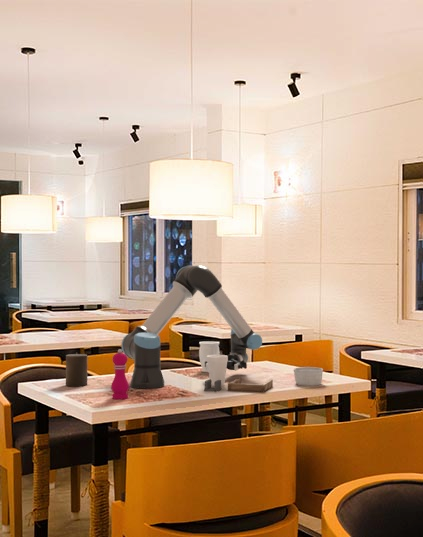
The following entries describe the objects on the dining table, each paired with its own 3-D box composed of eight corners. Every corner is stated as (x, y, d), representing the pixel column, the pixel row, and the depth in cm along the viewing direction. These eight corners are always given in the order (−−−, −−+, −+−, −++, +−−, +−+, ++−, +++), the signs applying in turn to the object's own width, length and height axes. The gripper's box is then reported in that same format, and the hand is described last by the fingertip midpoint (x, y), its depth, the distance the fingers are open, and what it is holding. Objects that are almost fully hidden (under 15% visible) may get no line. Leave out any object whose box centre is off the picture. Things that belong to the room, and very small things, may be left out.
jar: (196, 370, 388) (196, 341, 388) (216, 369, 391) (215, 340, 391) (202, 373, 378) (202, 343, 378) (222, 372, 381) (222, 342, 381)
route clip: (217, 391, 322) (217, 381, 322) (204, 390, 324) (204, 381, 324) (221, 389, 328) (221, 379, 328) (208, 388, 330) (208, 379, 330)
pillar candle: (79, 387, 335) (79, 353, 335) (61, 386, 339) (61, 352, 339) (91, 384, 344) (91, 351, 344) (73, 383, 348) (74, 350, 348)
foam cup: (228, 383, 344) (228, 354, 344) (227, 386, 335) (226, 357, 335) (208, 383, 345) (207, 354, 345) (205, 386, 336) (205, 357, 336)
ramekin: (313, 387, 332) (313, 371, 332) (288, 384, 340) (288, 369, 340) (328, 383, 342) (328, 368, 342) (303, 381, 350) (303, 366, 350)
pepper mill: (129, 396, 310) (129, 348, 310) (128, 399, 303) (128, 349, 303) (112, 396, 310) (111, 348, 310) (110, 399, 303) (110, 350, 303)
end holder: (264, 392, 319) (264, 385, 319) (227, 390, 324) (227, 383, 324) (272, 386, 334) (272, 379, 334) (237, 385, 339) (237, 378, 339)
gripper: (258, 370, 360) (247, 376, 339) (208, 368, 367) (194, 374, 347) (258, 354, 360) (247, 359, 339) (208, 352, 367) (194, 358, 347)
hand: (220, 367), depth 343 cm, fingers open, 13 cm apart
